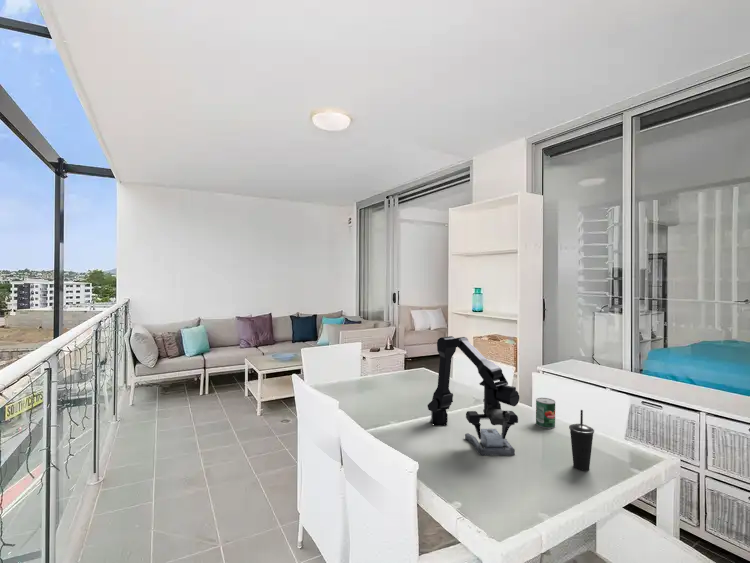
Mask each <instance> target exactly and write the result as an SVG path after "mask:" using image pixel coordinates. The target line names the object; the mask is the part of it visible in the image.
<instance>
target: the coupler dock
mask: <svg viewBox="0 0 750 563" xmlns="http://www.w3.org/2000/svg"><path fill="white" fill-rule="evenodd" d="M500 435H501V437H502V432H501V434H500ZM464 440H466V441H468V442H470V443H471V444H472V445H473V446H474V449H475V450H476V452H477V453H478V455H479V456H515V453H516V452H515V450H516V449H515V447H513V446H512V445H511V444H510V442H509V441H508V440H507V439H506V438H505V439H503V448H484V447H483V445H482V444H480V443H481V442H480V441H479V439H477V437H476V436H474V435H472V434H470V433H469V432H467V433H465V434H464Z"/></svg>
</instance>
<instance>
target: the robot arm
mask: <svg viewBox="0 0 750 563" xmlns="http://www.w3.org/2000/svg"><path fill="white" fill-rule="evenodd" d="M436 348H437V349H436V350H437V352H438V354H439V365H438V366H439V368H438V377H437V378H438V379H437V387H436V389H435V390H434V392H433V394H432V399H431V401H430V402H429V403H428V404H427V410H428V411H429V412H431V414H430V417H431V418H430V422H431V421H432V423H431V425H432V424H434V425H447V426H448V419H449V418H448V416H449V415H448V412H447V410H449V409H450V408H451V405H452V403H454V401H453V400H454V399H453V398H454V393H453V392H451V390H450V378H451V370H452V369H451V367H452V358H453V356H454V355H455V353H456V351H457V348H458V349H460V351H461V352H462V353H463V354H464V356H466V357H467V358H468V359H469V360H470V362H472V364H473V365H474V366H475V368H477V373H478V374H479V376H480V378H482V381H481V382H479V383H478V384H479V386H482V387H483V409H482V411H483V413H478V411H476V410H468V411H466V412H465V418H466V420H467V422H468V423H469V424H471V425H473V426H474V428H475V431H476V434H477V437H478V440H481V425H482V424H481V423H480V422H481V420H489V422H490V424H491V425H492V426H501V433H502V438H503V439H506V436H507V433H508V431H509V429H510V428H511V426H514V425H515V424H519V415H517V414H516V413H515V412H514V411H513V410H504V409H502V406H501V403H502V404H505V405H508V406H512V407H516V406H517V405H518V404H519V403H520V394H519V391H517V388H516V386H512V385H511V386H510V385H509V382H508V380H507V379H506V376H505V374H504V373H503V370H502V368H501V367H500V365H498V364H496V363H495V362H494V361H491V360H489V359H487V358H486V357H485V356H484V355H483V354H482V353H481V352H480V351H479V350H478V349H477V348H476V347H475V346H474V345H473V344H472V343H471V342H470V341H469V339H468V337H465V336H461V337H454V336H451V335H450V336H443V337H439V339H437V342H436Z"/></svg>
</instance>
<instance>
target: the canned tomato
mask: <svg viewBox="0 0 750 563" xmlns="http://www.w3.org/2000/svg"><path fill="white" fill-rule="evenodd" d="M535 424H536V426H537V427H539V428H543V429H554V428H556V400H554V399H552V398H548V397H537V398H535Z"/></svg>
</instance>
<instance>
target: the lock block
mask: <svg viewBox="0 0 750 563" xmlns="http://www.w3.org/2000/svg"><path fill="white" fill-rule="evenodd" d="M480 432H481V439H480V443H481V446H482V448H504V446H503V438H502V437H501V434H500V432H499V431H498V430H497V429H496V428H480Z"/></svg>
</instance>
